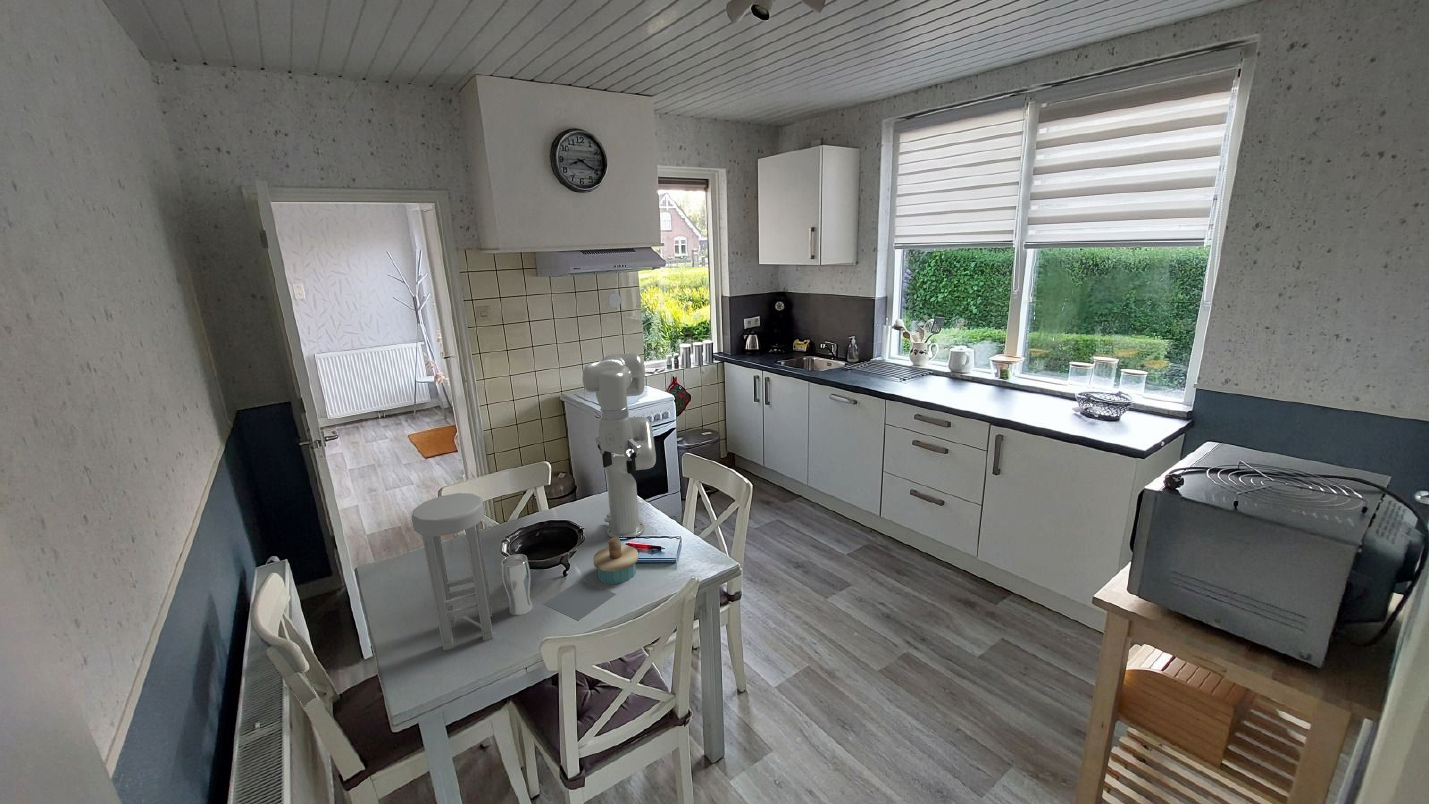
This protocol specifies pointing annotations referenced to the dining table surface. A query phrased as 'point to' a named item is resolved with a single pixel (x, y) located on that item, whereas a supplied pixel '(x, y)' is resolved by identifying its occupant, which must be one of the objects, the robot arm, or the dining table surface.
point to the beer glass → (517, 583)
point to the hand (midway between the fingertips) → (619, 469)
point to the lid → (615, 556)
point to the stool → (431, 524)
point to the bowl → (617, 575)
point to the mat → (579, 599)
